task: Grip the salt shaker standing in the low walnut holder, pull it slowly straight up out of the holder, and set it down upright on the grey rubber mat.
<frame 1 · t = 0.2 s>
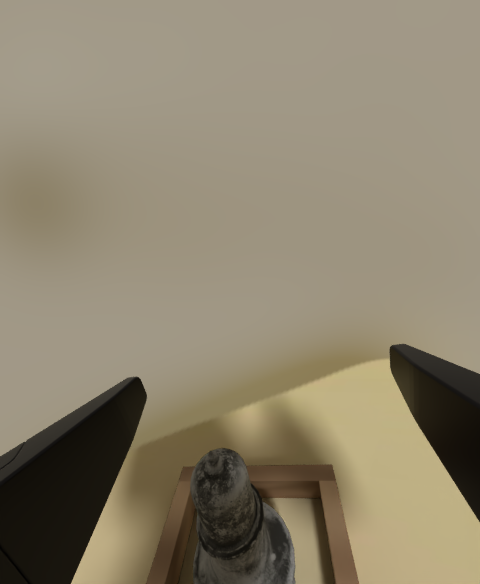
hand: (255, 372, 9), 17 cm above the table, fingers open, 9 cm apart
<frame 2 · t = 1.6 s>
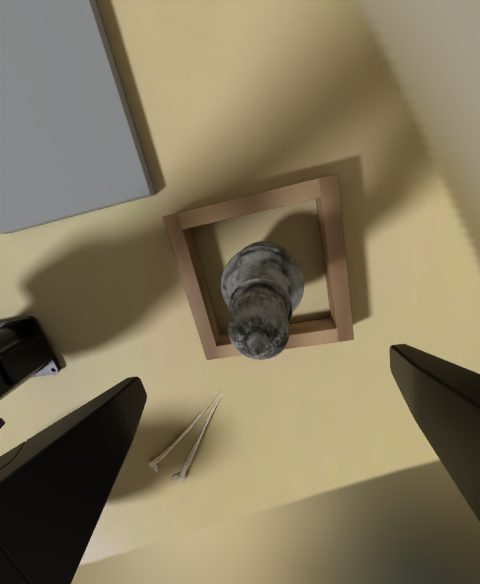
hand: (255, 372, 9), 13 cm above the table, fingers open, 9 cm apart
walnut holder: (262, 273, 21), on the table
tweezers: (197, 422, 29), on the table
grey mat: (40, 120, 19), on the table
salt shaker: (262, 273, 22), resting in walnut holder
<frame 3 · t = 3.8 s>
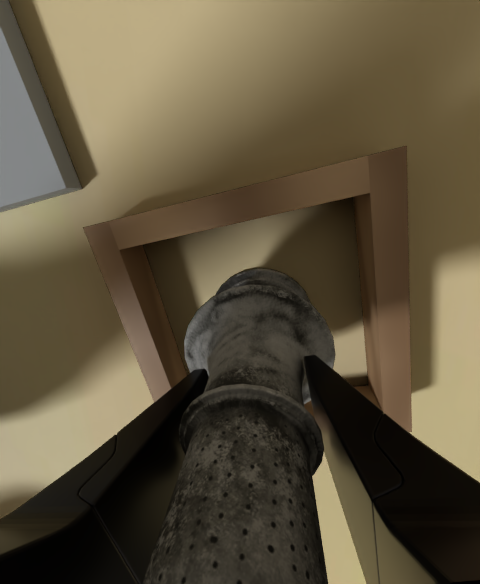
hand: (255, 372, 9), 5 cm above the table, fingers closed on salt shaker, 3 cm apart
walnut holder: (260, 317, 13), on the table
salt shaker: (260, 316, 13), resting in walnut holder, touching gripper
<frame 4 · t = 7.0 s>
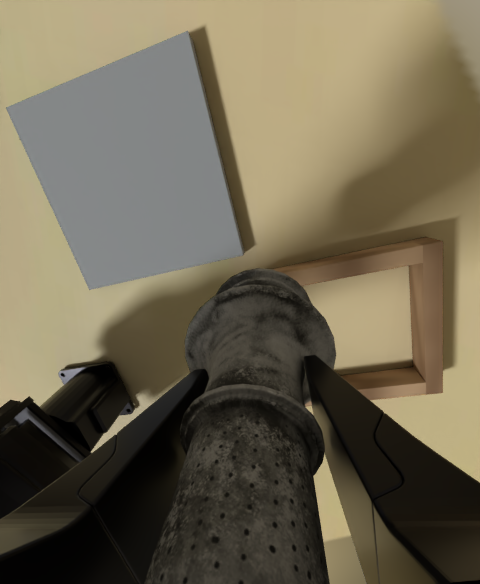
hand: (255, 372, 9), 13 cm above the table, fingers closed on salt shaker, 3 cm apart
walnut holder: (346, 325, 22), on the table
grey mat: (136, 185, 20), on the table
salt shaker: (261, 316, 13), point 8 cm above the table, touching gripper
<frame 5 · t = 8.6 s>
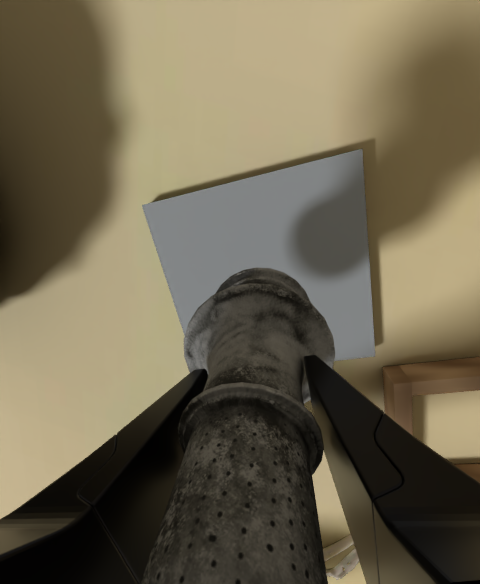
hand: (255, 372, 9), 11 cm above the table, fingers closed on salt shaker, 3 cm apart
walnut holder: (466, 420, 21), on the table
tweezers: (361, 524, 28), on the table
grey mat: (264, 280, 19), on the table
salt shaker: (260, 315, 13), point 6 cm above the table, touching gripper
when the fingers open (6 cm above the table, at t = 10.2 s): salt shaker stays where it is, resting on grey mat.
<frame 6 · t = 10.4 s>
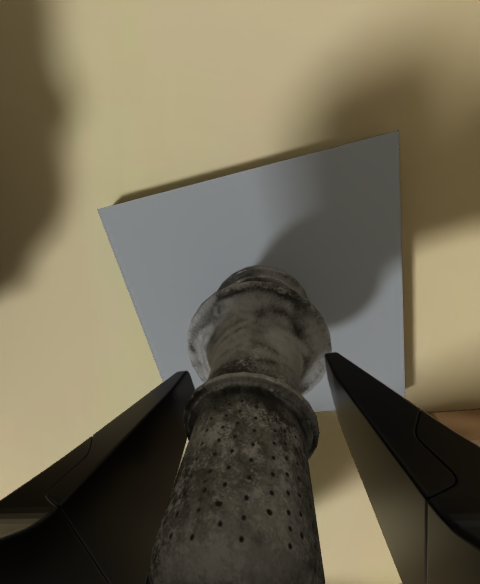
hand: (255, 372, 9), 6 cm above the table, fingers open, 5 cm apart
grey mat: (261, 306, 15), on the table
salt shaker: (260, 312, 14), point 1 cm above the table, touching grey mat
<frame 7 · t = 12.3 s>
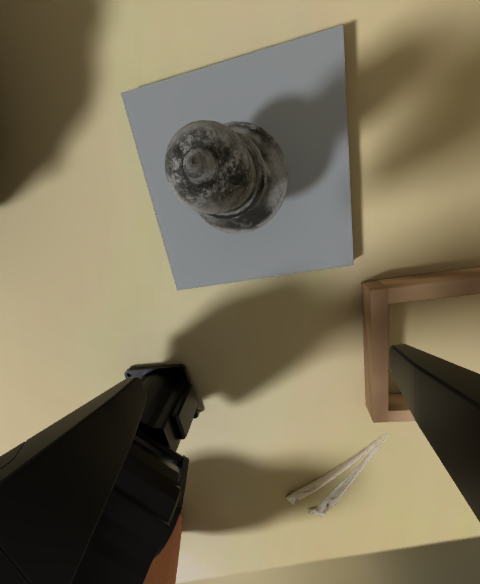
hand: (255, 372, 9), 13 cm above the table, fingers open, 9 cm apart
walnut holder: (443, 342, 21), on the table
tweezers: (346, 459, 28), on the table
grey mat: (245, 184, 19), on the table
potted plant: (152, 510, 35), on the table
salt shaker: (243, 184, 18), point 1 cm above the table, touching grey mat
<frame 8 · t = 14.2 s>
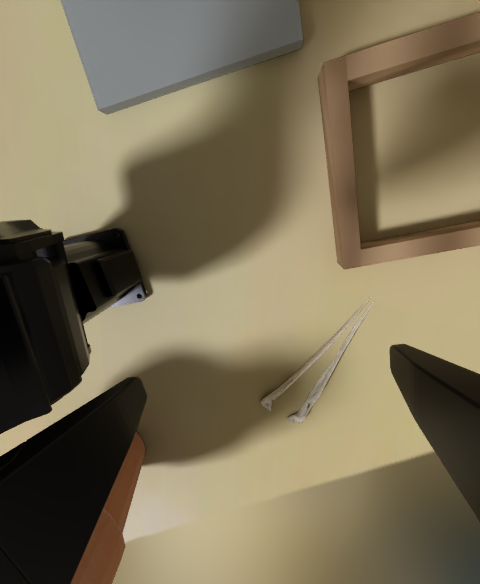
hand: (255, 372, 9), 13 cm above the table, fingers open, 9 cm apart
walnut holder: (423, 157, 17), on the table
tweezers: (327, 346, 24), on the table
potted plant: (111, 441, 31), on the table
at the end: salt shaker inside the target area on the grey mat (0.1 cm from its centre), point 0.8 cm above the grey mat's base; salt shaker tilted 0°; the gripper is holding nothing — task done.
